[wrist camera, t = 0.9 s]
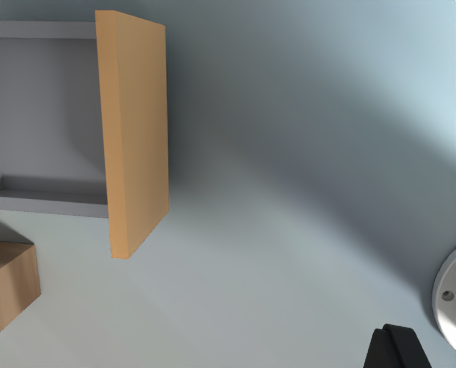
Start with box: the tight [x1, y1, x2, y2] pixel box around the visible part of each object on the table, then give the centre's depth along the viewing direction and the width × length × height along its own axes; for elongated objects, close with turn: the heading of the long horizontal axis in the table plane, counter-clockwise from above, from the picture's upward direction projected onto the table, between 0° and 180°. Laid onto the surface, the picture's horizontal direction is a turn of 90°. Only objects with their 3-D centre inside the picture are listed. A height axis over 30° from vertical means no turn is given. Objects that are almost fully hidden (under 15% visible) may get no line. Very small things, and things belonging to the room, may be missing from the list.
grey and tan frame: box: [0, 10, 169, 259], centre depth 26 cm, size 14×13×9 cm
